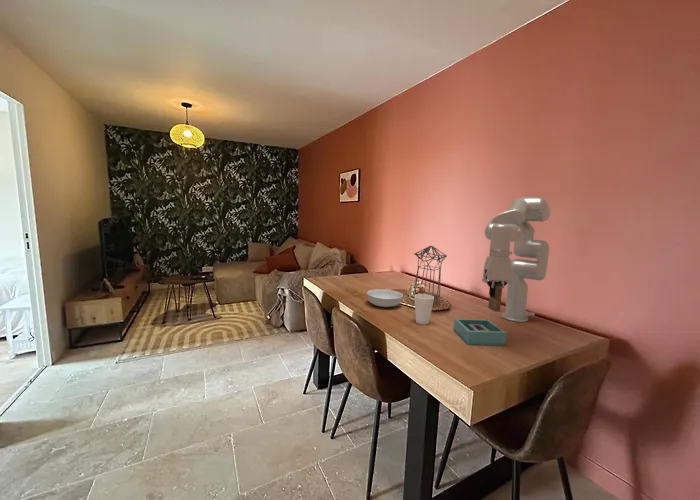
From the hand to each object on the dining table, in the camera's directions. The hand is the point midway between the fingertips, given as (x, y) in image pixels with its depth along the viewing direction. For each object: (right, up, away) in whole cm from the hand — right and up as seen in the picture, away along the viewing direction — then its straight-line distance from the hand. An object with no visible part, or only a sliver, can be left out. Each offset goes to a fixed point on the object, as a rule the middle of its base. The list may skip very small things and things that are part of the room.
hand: (495, 296), depth 134 cm
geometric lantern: (-15, -12, +57) cm, 60 cm away
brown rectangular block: (0, -6, +1) cm, 6 cm away
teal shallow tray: (-5, -19, +4) cm, 20 cm away
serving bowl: (-42, -12, +49) cm, 66 cm away
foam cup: (-26, -16, +22) cm, 37 cm away
